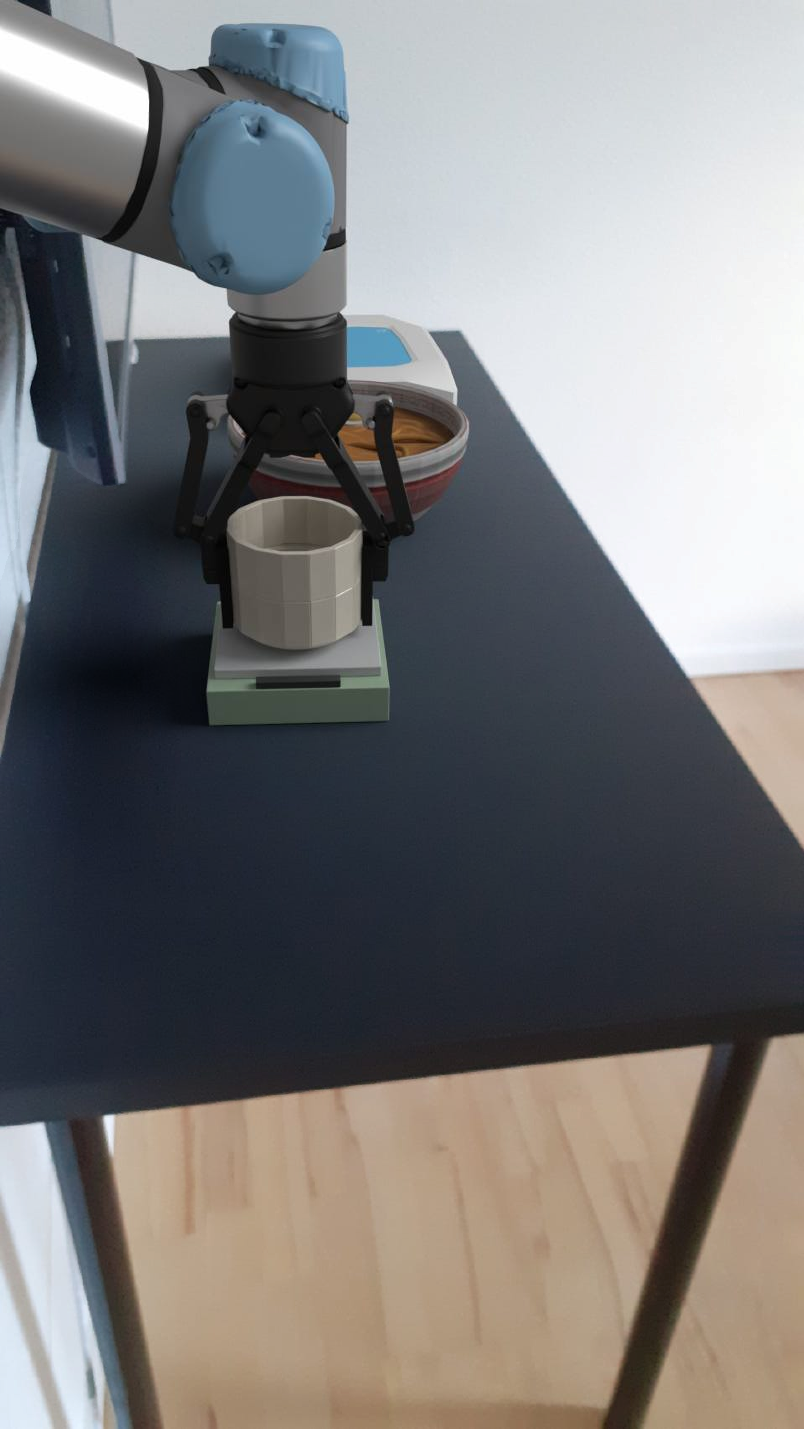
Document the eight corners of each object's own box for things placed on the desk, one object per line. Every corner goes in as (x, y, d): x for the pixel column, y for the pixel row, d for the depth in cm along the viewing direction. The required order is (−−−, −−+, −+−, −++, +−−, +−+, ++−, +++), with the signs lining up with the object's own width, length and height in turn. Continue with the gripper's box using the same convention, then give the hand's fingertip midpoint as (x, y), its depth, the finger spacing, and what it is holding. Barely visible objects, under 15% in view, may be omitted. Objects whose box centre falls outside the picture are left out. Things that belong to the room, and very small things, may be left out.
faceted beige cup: (230, 656, 77) (223, 555, 73) (236, 591, 85) (230, 496, 81) (364, 653, 78) (365, 553, 73) (358, 589, 86) (358, 495, 81)
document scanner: (277, 437, 124) (275, 383, 121) (262, 362, 147) (260, 315, 143) (456, 431, 128) (459, 378, 124) (414, 358, 150) (416, 312, 147)
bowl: (265, 462, 118) (261, 371, 113) (473, 480, 116) (480, 388, 110) (203, 555, 100) (194, 451, 94) (449, 579, 97) (455, 474, 92)
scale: (209, 725, 78) (205, 682, 76) (219, 633, 89) (216, 592, 86) (388, 721, 79) (390, 677, 77) (377, 630, 90) (378, 589, 87)
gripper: (454, 298, 73) (439, 591, 85) (117, 295, 71) (153, 596, 84) (469, 330, 66) (450, 641, 79) (100, 328, 65) (142, 647, 78)
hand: (298, 618), depth 81 cm, fingers closed on faceted beige cup, 10 cm apart
